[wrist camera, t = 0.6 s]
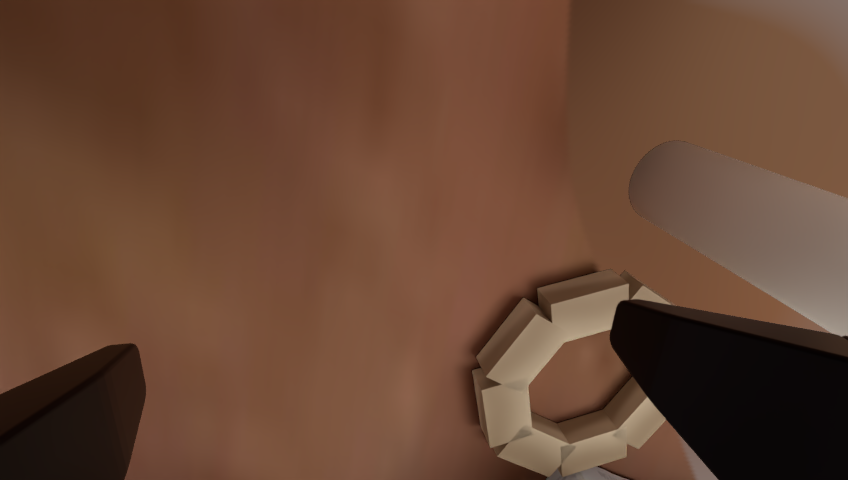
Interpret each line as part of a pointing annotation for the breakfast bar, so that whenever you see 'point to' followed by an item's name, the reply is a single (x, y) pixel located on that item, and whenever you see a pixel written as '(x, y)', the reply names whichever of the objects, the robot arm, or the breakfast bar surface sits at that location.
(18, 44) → the breakfast bar surface
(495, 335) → the bead ring
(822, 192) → the needle peg
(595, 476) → the tea box
